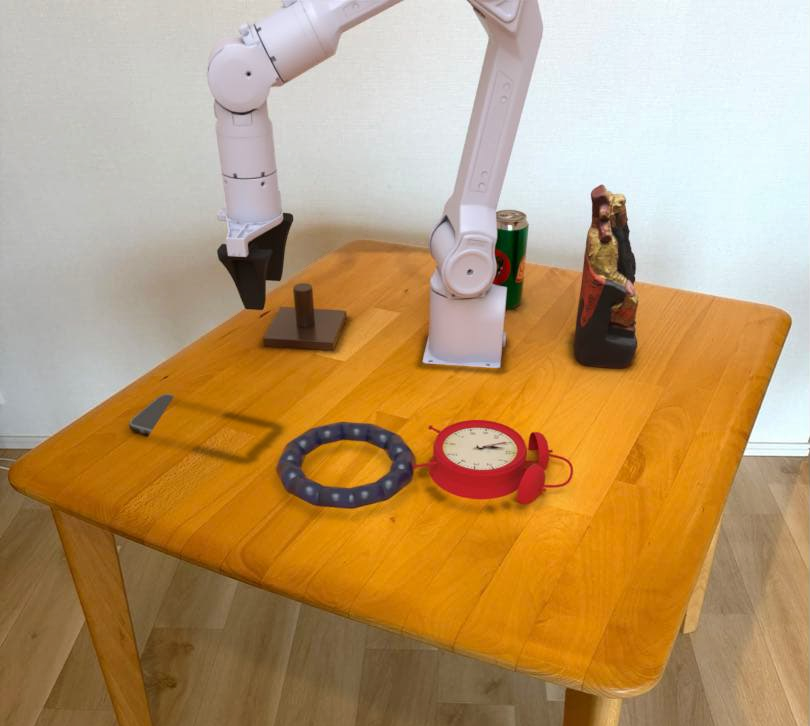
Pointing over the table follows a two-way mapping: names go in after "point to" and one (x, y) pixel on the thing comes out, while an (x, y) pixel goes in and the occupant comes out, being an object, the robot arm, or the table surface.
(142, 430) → the grey flat tapered piece
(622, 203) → the statue
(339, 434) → the ring
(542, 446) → the alarm clock
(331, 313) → the post
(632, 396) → the table surface
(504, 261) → the soda can
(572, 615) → the table surface
